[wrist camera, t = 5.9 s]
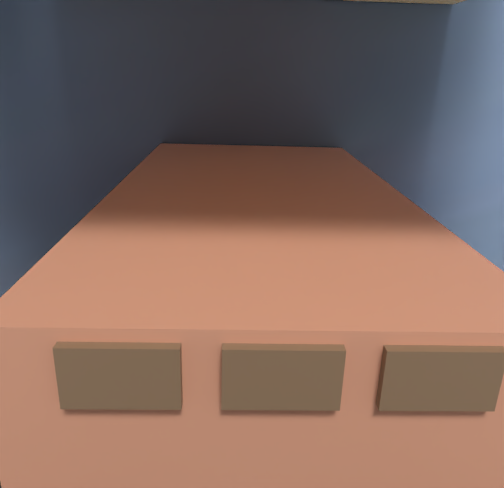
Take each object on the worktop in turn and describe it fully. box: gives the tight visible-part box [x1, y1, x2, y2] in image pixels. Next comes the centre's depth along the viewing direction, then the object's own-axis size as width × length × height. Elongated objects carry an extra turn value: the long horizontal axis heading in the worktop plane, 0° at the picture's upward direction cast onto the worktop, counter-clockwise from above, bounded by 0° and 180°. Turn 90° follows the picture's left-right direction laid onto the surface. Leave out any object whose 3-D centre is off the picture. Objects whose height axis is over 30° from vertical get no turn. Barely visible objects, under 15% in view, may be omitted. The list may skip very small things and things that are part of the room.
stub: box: [0, 143, 504, 488], centre depth 12 cm, size 8×6×12 cm
